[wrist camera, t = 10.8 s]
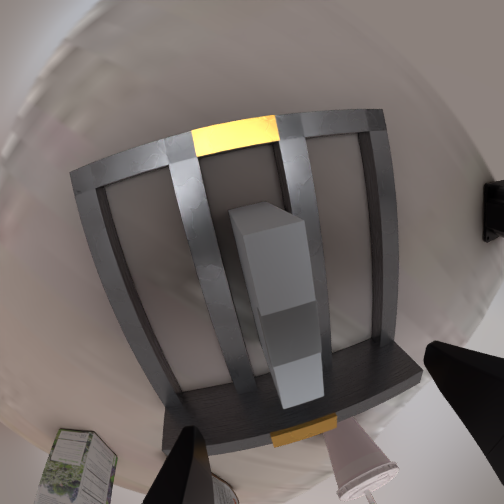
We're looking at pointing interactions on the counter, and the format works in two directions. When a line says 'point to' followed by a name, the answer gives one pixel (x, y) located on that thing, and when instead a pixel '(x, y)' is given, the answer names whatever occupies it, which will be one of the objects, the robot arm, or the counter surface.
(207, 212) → the rack
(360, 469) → the smoothie
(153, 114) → the counter surface
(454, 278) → the counter surface
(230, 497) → the tin
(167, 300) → the counter surface
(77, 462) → the syrup box
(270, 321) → the panel
